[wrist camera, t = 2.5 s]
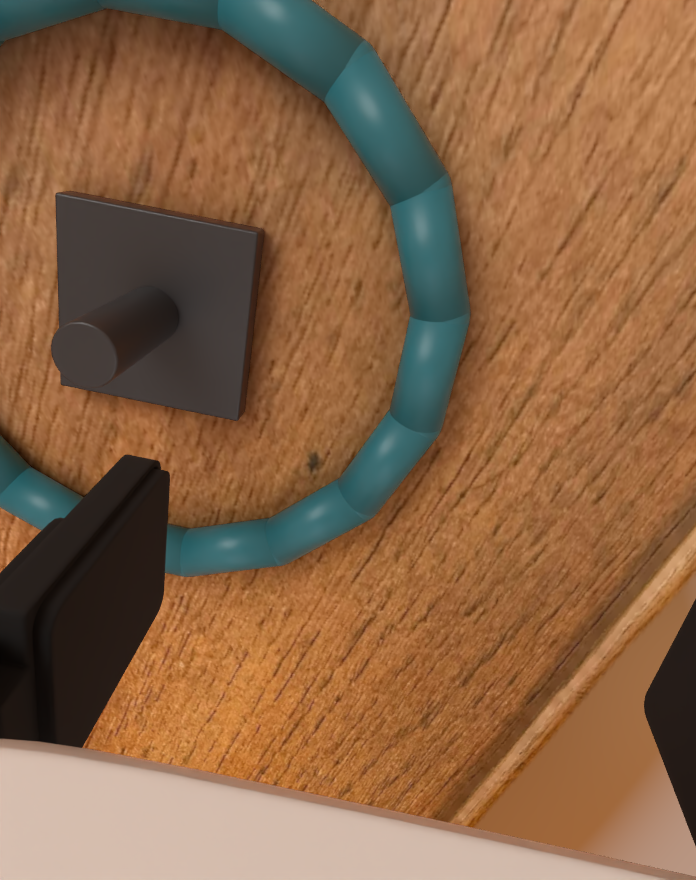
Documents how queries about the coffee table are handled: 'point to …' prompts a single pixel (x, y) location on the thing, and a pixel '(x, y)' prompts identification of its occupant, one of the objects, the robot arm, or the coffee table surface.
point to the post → (155, 304)
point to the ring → (421, 254)
